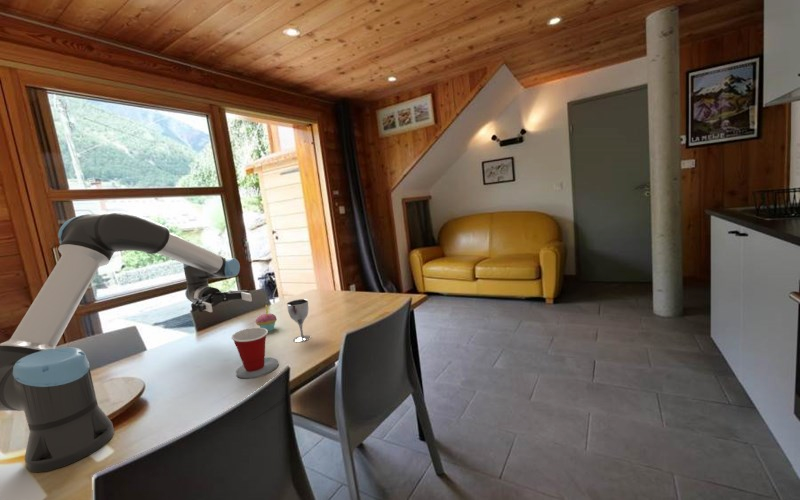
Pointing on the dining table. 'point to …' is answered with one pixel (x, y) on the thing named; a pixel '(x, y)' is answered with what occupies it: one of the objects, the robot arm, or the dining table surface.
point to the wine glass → (299, 315)
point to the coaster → (268, 367)
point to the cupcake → (266, 320)
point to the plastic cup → (251, 347)
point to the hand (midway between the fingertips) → (231, 302)
